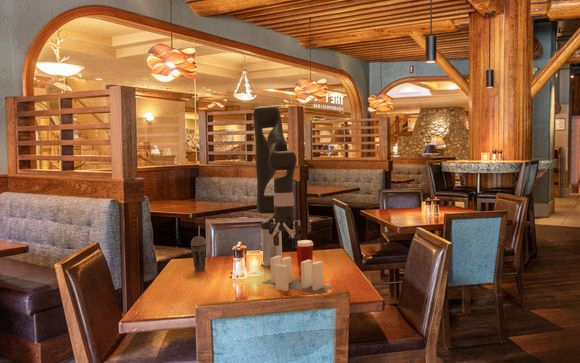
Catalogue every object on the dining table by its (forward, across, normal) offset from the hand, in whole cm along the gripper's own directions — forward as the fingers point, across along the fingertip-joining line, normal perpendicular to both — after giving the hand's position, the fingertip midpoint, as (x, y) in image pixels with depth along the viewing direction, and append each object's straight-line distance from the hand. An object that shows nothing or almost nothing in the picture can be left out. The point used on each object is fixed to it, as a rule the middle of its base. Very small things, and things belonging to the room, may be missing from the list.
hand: (285, 246), depth 194 cm
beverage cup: (+17, -54, +5) cm, 57 cm away
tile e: (+16, +10, +7) cm, 20 cm away
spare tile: (+17, -1, -1) cm, 17 cm away
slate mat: (+17, 0, +7) cm, 18 cm away
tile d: (+16, +5, +7) cm, 18 cm away
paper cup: (+17, -8, +24) cm, 30 cm away
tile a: (+16, -10, +6) cm, 20 cm away
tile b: (+16, -5, +6) cm, 18 cm away
